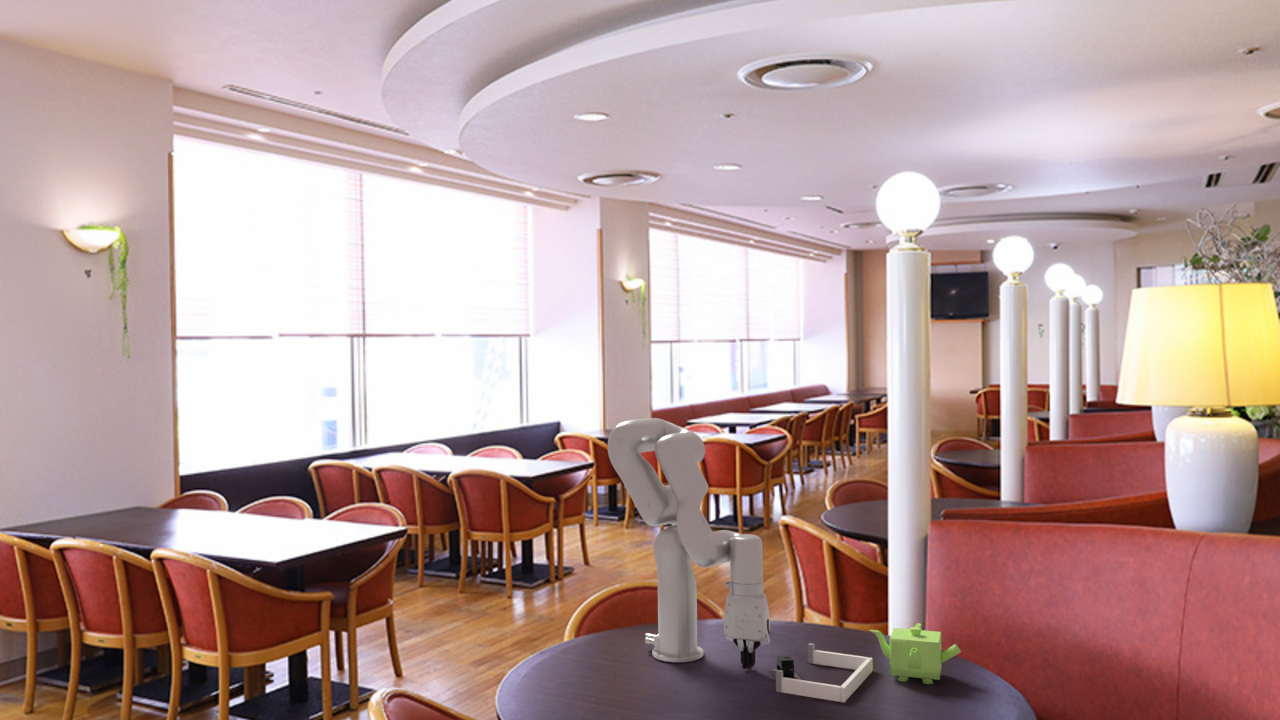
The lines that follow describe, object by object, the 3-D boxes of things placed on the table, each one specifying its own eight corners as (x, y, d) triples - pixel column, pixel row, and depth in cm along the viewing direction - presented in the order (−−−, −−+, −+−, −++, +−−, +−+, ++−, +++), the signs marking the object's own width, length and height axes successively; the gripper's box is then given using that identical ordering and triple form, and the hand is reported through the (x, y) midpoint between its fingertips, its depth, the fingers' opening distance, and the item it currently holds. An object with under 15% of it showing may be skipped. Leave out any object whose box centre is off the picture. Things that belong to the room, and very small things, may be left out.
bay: (776, 691, 208) (775, 671, 208) (809, 661, 228) (809, 643, 228) (844, 702, 201) (844, 681, 201) (872, 670, 221) (872, 651, 221)
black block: (808, 686, 213) (808, 665, 213) (776, 688, 212) (776, 667, 212) (792, 668, 225) (792, 648, 225) (762, 669, 224) (762, 650, 224)
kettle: (869, 672, 220) (868, 623, 220) (915, 663, 226) (915, 616, 226) (915, 692, 207) (914, 640, 207) (963, 682, 213) (963, 631, 213)
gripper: (710, 589, 223) (712, 667, 223) (771, 595, 216) (772, 676, 215) (723, 582, 229) (724, 658, 229) (782, 588, 222) (784, 667, 222)
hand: (748, 667), depth 222 cm, fingers closed
